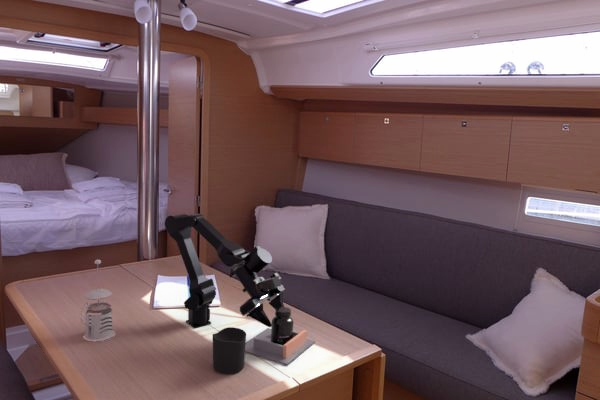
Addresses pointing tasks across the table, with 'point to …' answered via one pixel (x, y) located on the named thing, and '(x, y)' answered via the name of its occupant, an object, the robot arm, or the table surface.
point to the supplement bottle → (282, 326)
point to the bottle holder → (278, 347)
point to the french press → (94, 329)
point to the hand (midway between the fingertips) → (278, 321)
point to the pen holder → (229, 350)
